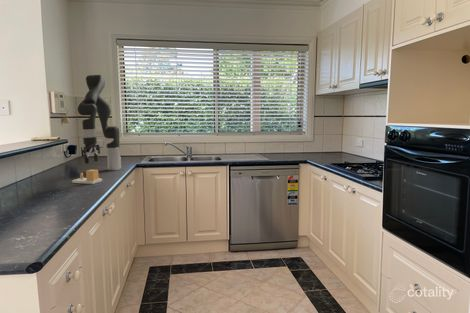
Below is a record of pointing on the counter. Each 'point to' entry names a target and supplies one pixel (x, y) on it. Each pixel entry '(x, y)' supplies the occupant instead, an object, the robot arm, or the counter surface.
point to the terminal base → (85, 180)
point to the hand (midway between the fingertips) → (91, 162)
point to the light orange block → (92, 175)
